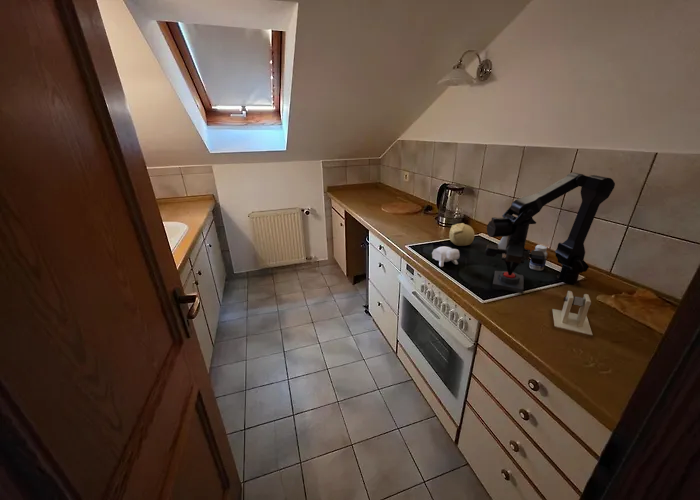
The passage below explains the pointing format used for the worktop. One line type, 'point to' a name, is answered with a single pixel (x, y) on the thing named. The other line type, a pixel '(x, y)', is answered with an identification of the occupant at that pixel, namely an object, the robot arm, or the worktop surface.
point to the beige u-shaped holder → (573, 316)
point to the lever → (577, 301)
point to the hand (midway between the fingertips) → (509, 274)
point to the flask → (503, 243)
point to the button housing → (508, 282)
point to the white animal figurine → (445, 255)
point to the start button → (509, 275)
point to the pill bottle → (541, 266)
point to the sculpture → (461, 234)
